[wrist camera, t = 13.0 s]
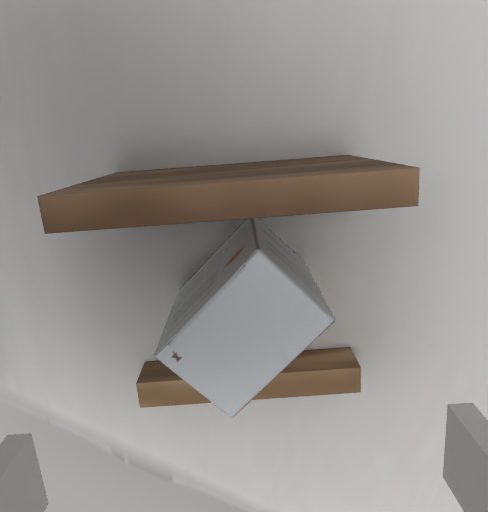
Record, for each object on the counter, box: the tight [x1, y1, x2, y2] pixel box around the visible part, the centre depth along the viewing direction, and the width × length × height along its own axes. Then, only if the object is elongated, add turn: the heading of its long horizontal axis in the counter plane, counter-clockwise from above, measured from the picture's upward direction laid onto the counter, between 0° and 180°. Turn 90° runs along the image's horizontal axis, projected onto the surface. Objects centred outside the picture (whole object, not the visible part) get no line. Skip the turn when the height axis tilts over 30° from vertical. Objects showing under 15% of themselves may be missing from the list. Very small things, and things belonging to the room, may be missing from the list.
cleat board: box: [37, 155, 419, 408], centre depth 26 cm, size 17×16×12 cm
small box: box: [154, 218, 335, 418], centre depth 27 cm, size 8×6×10 cm
